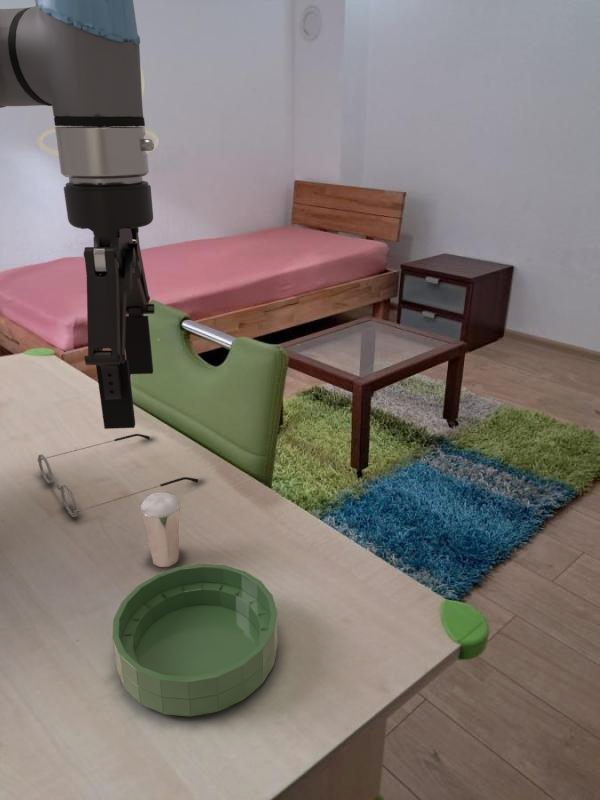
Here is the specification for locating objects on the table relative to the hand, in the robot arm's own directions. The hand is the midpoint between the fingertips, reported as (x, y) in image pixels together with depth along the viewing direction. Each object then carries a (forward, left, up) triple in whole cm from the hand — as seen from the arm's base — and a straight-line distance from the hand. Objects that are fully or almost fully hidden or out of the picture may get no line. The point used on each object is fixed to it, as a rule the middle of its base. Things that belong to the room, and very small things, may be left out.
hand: (131, 397), depth 65 cm
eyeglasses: (-20, +18, -25) cm, 36 cm away
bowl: (+10, -7, -24) cm, 27 cm away
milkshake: (-2, +4, -25) cm, 25 cm away
